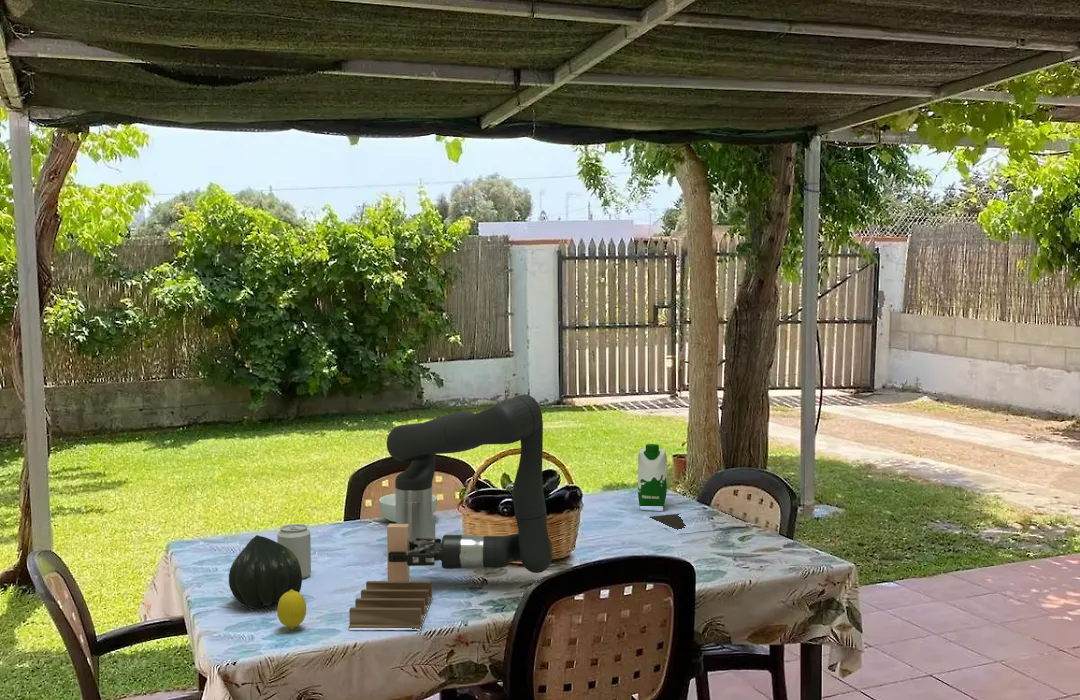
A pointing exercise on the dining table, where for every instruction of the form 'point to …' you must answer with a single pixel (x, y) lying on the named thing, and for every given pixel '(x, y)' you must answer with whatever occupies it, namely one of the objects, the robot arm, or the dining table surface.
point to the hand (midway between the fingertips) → (391, 551)
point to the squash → (264, 573)
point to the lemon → (291, 609)
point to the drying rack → (391, 604)
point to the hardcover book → (677, 520)
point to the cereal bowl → (389, 506)
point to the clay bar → (398, 542)
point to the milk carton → (652, 476)
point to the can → (297, 544)
